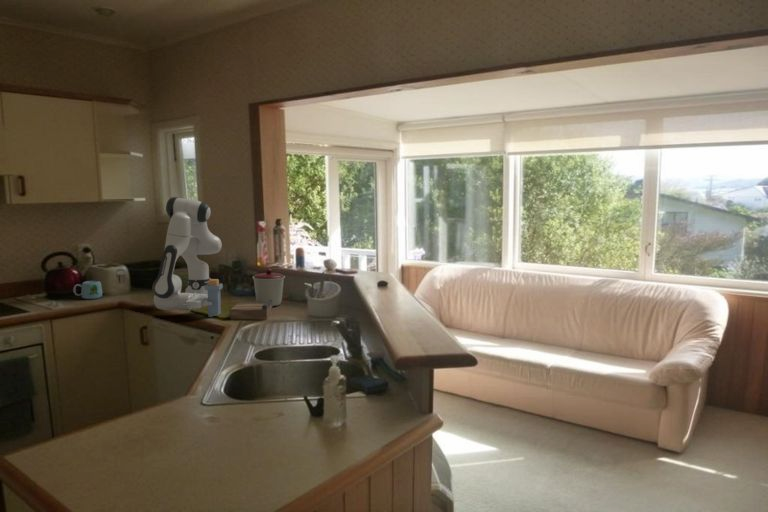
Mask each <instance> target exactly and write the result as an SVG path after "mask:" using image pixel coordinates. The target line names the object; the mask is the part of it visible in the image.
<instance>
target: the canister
mask: <svg viewBox="0 0 768 512" xmlns="http://www.w3.org/2000/svg"><path fill="white" fill-rule="evenodd" d="M285 278H286V276H285V275H284V274H283V273H278V272H273V269H271V268H266V269H265V272H263V273H256V274H255V275H254V276H252V279H253V284H254V291H255V299H256V303H265V302H266V301H267V300H272V308H273V307H277V306H279V305H281V303H282V299H283V292H284V280H285Z"/></svg>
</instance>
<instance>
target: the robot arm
mask: <svg viewBox="0 0 768 512" xmlns="http://www.w3.org/2000/svg"><path fill="white" fill-rule="evenodd" d="M211 210H212V209H211V206H210V204H208V203H206V202H204V201H203V202H202V201H200V200H198V199H192V198H191V199H189V198H182V197H177V196H174V197H173V196H172V197H171V198H169V199H168V200H167V201H166V206H165V211H166V214H167V216H169V219H170V220H169V223H168V227H167V232H166V238H165V243H164V244H165V245H164V249H163V254H162V257H161V261H160V265H159V270H158V275H157V277H156V278H155V280H154V281H153V283H152V287H151V289H152V292H153V295H154V296H153V305H154V306H155V308H156V309H159V310H163V311H164V310H165V311H175V310H180V311H191V310H192V309H194V310H199V309H201V308H203V307H206V306H207V307H208V305H212V301H209V302H208V290H205V285H207V284H209V280H210V279H212V278H211V277H210V269H209V268H210V267H209V264H208V263H207V262H205V261H204V260H201V259H199V257H197V256H198V255H199V256H200V255H203V256H204V255H206V256H207V255H214V254H215V255H216V254H218V253H219V252H221V250H222V248H223V247H222V246H223V245H222V243H223V242H222V239H220V237H219V236H217V235H215V234H213V233H212V232H211V231H210V230H209V227H208V221H209V219H210V217H211ZM180 256H181V257H182V258H183V259H184V261H185V263H186V265H187V271H188V272H187V274H188V279H187V285H188V286H187V287H186V288H185V292H182V288H183V282H182V281H183V280H182V278H181V277H180V276H179V275H177V274H174V272H175V266H176V262H177V260H178V258H179V257H180Z"/></svg>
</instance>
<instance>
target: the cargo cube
mask: <svg viewBox="0 0 768 512" xmlns="http://www.w3.org/2000/svg"><path fill="white" fill-rule="evenodd" d="M219 284H220V280H219V279H218V278H211V279H210V280H209V286H218V285H219Z"/></svg>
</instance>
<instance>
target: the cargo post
mask: <svg viewBox="0 0 768 512" xmlns="http://www.w3.org/2000/svg"><path fill="white" fill-rule="evenodd" d="M223 286H224V285H223V283H219V285H218V286H209V284H207V285H205V290H208V302H209V301H212V305H207V317H209V318H214V317H213V316H215V315H219V314H221V315H222V311H221V310H222V306H221V305H222V303H221V302H222V299H221V290H222V289H223V288H224V287H223Z"/></svg>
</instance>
